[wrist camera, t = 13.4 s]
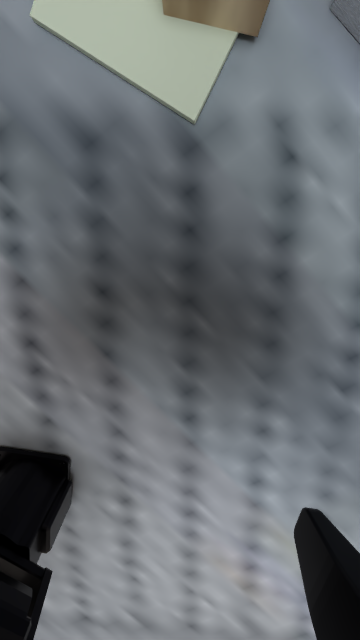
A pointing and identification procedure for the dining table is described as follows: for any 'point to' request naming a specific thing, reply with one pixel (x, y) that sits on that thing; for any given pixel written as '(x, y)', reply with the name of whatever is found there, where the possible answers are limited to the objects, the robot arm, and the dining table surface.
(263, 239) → the dining table surface
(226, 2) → the beech rail
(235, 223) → the dining table surface
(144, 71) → the mat
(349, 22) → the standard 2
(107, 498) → the dining table surface
